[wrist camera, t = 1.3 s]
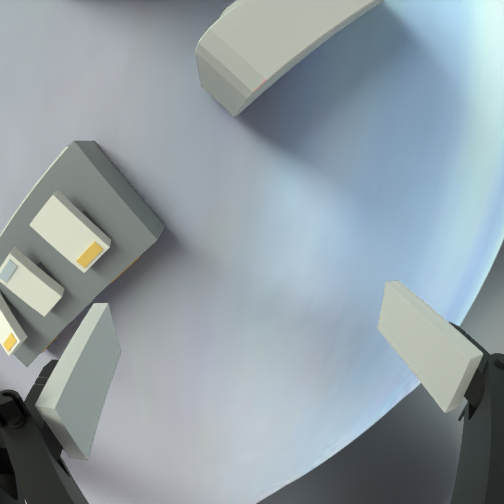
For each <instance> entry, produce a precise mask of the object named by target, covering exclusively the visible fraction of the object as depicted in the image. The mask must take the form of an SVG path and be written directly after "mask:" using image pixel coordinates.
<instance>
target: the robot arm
mask: <svg viewBox="0 0 504 504" xmlns="http://www.w3.org/2000/svg"><path fill="white" fill-rule="evenodd" d="M377 329H378V330H379V332H380V333H381V334H382V335H383V336H384V338H385V339H386V340H387V341H388V342H389V344H390V345H391V346H392V347H393V348H394V350H395V351H396V352H397V353H398V355H399V356H400V357H401V358H402V359H403V361H404V362H405V363H406V364H407V366H408V367H409V368H410V369H411V371H412V372H413V373H414V374H415V376H416V377H417V378H418V379H419V381H420V382H421V383H422V384H423V386H424V387H425V388H426V389H427V391H428V392H429V393H430V395H431V396H432V397H433V398H434V399H435V401H436V402H437V403H438V405H439V406H440V407H441V409H442V410H443V411H444V413H446V412H449V411H451V410H453V409H455V408H458V407H459V405H460V403H461V401H462V399H463V397H465V398H466V399H467V400H468V402H467V404H466V406H465V408H464V409H463V411H462V413H461V415H460V417H459V419H458V420H459V421H460V420H461V419H462V417H463V416H464V427H463V435H462V443H461V451H460V458H459V464H458V470H457V475H456V481H455V485H454V490H453V495H452V499H451V503H450V504H504V354H500V353H495V354H492V355H490V354H489V353H488V352H487V351H486V350H485V349H484V348H483V347H482V346H480V345H479V344H478V343H477V342H476V341H475V340H474V339H471V337H470V336H469V335H468V334H466V332H465V331H463V330H462V329H461V328H460V327H459V326H457V325H455V324H453V323H451V322H447V321H446V320H445V319H444V318H443V317H442V316H441V315H439V314H438V313H437V312H436V311H435V310H433V309H432V308H431V307H430V306H429V305H428V304H426V303H425V302H424V301H423V300H422V299H420V298H419V297H418V296H417V295H415V294H414V293H413V292H412V291H411V290H409V289H408V288H407V287H406V286H404V285H403V284H402V283H401V282H400V281H398V280H396V281H388V282H385V289H384V295H383V301H382V306H381V312H380V317H379V322H378V327H377ZM120 355H121V348H120V345H119V341H118V338H117V334H116V331H115V327H114V323H113V319H112V315H111V311H110V307H109V303H94V304H93V305H92V307H91V308H90V310H89V311H88V313H87V315H86V316H85V318H84V319H83V321H82V322H81V324H80V326H79V327H78V329H77V331H76V332H75V334H74V336H73V337H72V339H71V341H70V342H69V344H68V346H67V347H66V349H65V351H64V352H63V354H62V356H61V358H60V359H59V360H51V361H50V362H49V363H48V364H47V365H46V366H44V367H43V369H42V371H41V373H40V374H39V378H37V379H36V381H35V385H33V386H32V388H31V390H30V392H29V394H28V395H27V397H26V399H25V401H24V402H23V400H22V398H21V397H20V395H19V394H18V392H16V391H14V390H4V391H1V392H0V504H25V500H26V502H27V504H89V503H88V502H87V500H86V499H85V497H84V495H83V494H82V492H81V491H80V489H79V487H78V486H77V484H76V482H75V481H74V479H73V477H72V475H71V474H70V472H69V470H68V468H67V466H66V465H65V463H64V461H63V460H62V458H61V457H60V455H61V452H62V449H64V451H65V452H66V453H67V455H68V456H69V457H70V458H75V459H81V460H88V458H89V454H90V450H91V447H92V443H93V439H94V436H95V432H96V429H97V425H98V422H99V419H100V415H101V412H102V409H103V406H104V402H105V399H106V396H107V393H108V390H109V387H110V384H111V381H112V378H113V375H114V372H115V369H116V366H117V363H118V360H119V357H120Z"/></svg>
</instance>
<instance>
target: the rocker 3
mask: <svg viewBox="0 0 504 504" xmlns="http://www.w3.org/2000/svg"><path fill="white" fill-rule="evenodd" d="M30 226H31V227H32V228H33V229H34V230H35V231H36V232H37V233H38V234H40V235H41V236H42V237H43V238H44V239H45V240H46V241H47V242H48V243H49V244H51V245H52V246H53V247H54V248H55V249H56V250H57V251H59V252H60V253H61V254H62V255H63V256H64V257H66V258H67V259H68V260H69V261H70V262H71V263H73V264H74V265H75V266H76V267H77V268H79V269H80V270H81V271H82V272H83V273H85V272H86V271H87V270H88V269H89V268H90V267H91V266H92V265H93V264H94V263H95V262H96V261H97V260H98V258H99V257H100V256H101V255H102V254H103V253H104V252H106V251H107V250H108V249H109V248H110V244H111V239H110V238H109V237H108V236H107V235H105V234H104V233H103V232H102V231H101V230H100V229H99V228H98V227H97V226H96V225H95V224H93V223H92V222H91V221H90V220H89V219H88V218H87V217H86V216H85V215H84V214H83V213H82V212H81V211H80V210H78V209H77V208H76V207H75V206H74V205H73V204H72V203H71V202H70V201H69V200H68V199H67V198H66V197H65V196H64V195H63V194H62V193H61V192H60V191H59V190H58V189H57V190H56V191H55V193H54V194H53V195H52V196H51V197H50V199H49V200H48V201H47V202H46V204H45V205H44V206H43V207H42V209H41V210H40V211H39V213H38V214H37V215H36V216H35V218H34V219H33V221H32V222H31V223H30Z"/></svg>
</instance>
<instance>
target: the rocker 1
mask: <svg viewBox="0 0 504 504" xmlns="http://www.w3.org/2000/svg"><path fill="white" fill-rule="evenodd" d="M26 338H27V335H26V334H25V332H24V331H23V329H22V328H21V326H20V325H19V323H18V322H17V320H16V318H15V317H14V315H13V314H12V312H11V310H10V309H9V307H8V305H7V304H6V302H5V300H4V299H3V297H2V295H1V293H0V343H1V345H2V346H3V348H4V349H5V351H6V352H7V354H8V355H11V354H13V353H14V352H16V351H17V349H18V348H19V347H20V346H21V344H22V343H23V342H24V341H25V339H26Z"/></svg>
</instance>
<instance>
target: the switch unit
mask: <svg viewBox="0 0 504 504" xmlns="http://www.w3.org/2000/svg"><path fill="white" fill-rule="evenodd" d="M57 189H58V190H59V191H60V192H61V193H62V194H63V195H64V196H65V197H66V198H67V199H68V200H69V201H70V202H71V203H72V204H73V205H74V206H75V207H76V208H77V209H78V210H80V211H81V212H82V213H83V214H84V215H85V216H86V217H87V218H88V219H89V220H90V221H91V222H92V223H93V224H95V225H96V226H97V227H98V228H99V229H100V230H101V231H102V232H103V233H104V234H105V235H107V236H108V237H109V238H110V239H111V244H110V248H109V249H108V250H107V251H106V252H104V253H103V254H102V255H101V256H100V257H99V258H98V260H97V261H96V262H95V263H94V264H93V265H92V266H91V267H90V268H89V269H88V270H87V271H86V272H85V273H83V272H82V271H81V270H80V269H79V268H77V267H76V266H75V265H74V264H73V263H71V262H70V261H69V260H68V259H67V258H66V257H64V256H63V255H62V254H61V253H60V252H59V251H57V250H56V249H55V248H54V247H53V246H52V245H51V244H49V243H48V242H47V241H46V240H45V239H44V238H43V237H42V236H41V235H40V234H38V233H37V232H36V231H35V230H34V229H33V228H32V227H31V226H30V223H31V222H32V221H33V219H34V218H35V216H36V215H37V214H38V213H39V211H40V210H41V209H42V207H43V206H44V205H45V204H46V202H47V201H48V200H49V199H50V197H51V196H52V195H53V194H54V193H55V191H56V190H57ZM165 226H166V225H165V224H164V223H163V222H162V221H161V220H160V219H159V217H158V216H157V215H156V214H155V213H154V212H153V210H152V209H151V208H150V207H149V206H148V205H147V204H146V202H145V201H144V200H143V199H142V198H141V197H140V195H139V194H138V193H137V192H136V191H135V190H134V188H133V187H132V186H131V185H130V184H129V182H128V181H127V180H126V179H125V178H124V177H123V175H122V174H121V173H120V172H119V171H118V169H117V168H116V167H115V166H114V165H113V163H112V162H111V161H110V160H109V159H108V157H107V156H106V155H105V154H104V152H103V151H102V150H101V149H100V148H99V146H98V145H97V144H96V143H95V141H73V142H72V144H71V145H69V146H67V147H66V148H65V149H64V150H63V151H62V152H61V153H60V155H59V156H58V157H57V158H56V159H55V160H54V162H53V163H52V164H51V165H50V166H49V168H48V169H47V170H46V171H45V173H44V174H43V175H42V176H41V178H40V179H39V180H38V181H37V183H36V184H35V185H34V187H33V188H32V189H31V191H30V192H29V193H28V195H27V196H26V197H25V199H24V200H23V201H22V203H21V204H20V206H19V207H18V209H17V210H16V211H15V213H14V214H13V216H12V217H11V219H10V220H9V222H8V223H7V225H6V226H5V228H4V229H3V231H2V233H1V234H0V267H1V266H2V264H3V262H4V261H5V259H6V258H7V256H8V255H9V253H10V252H11V250H12V249H13V247H14V246H15V247H16V248H17V249H18V250H20V251H21V252H22V253H23V254H24V255H25V256H26V257H27V258H29V259H30V260H31V261H32V262H33V263H34V264H35V265H37V266H38V267H39V268H40V269H41V270H43V271H44V272H45V273H46V274H47V275H49V276H50V277H51V278H52V279H53V280H55V281H56V282H57V283H58V284H60V285H61V286H62V287H63V288H65V289H64V292H63V295H62V297H61V299H60V300H59V301H58V302H57V303H56V304H55V305H54V306H53V308H52V309H51V310H50V311H49V312H48V313H47V314H46V316H45V317H44V316H43V315H41V314H40V313H39V312H37V311H36V310H35V309H33V308H32V307H31V306H29V305H28V304H27V303H26V302H24V301H23V300H22V299H21V298H19V297H18V296H17V295H16V294H14V293H13V292H12V291H11V290H9V289H8V288H7V287H6V286H5V285H4V284H2V283H1V282H0V293H1V295H2V297H3V299H4V300H5V302H6V304H7V305H8V307H9V309H10V310H11V312H12V314H13V315H14V317H15V318H16V320H17V322H18V323H19V325H20V326H21V328H22V329H23V331H24V332H25V334H26V335H27V338H26V339H25V341H24V342H23V343H22V344H21V346H20V347H19V348H18V349H17V351H16V352H14V353H13V354H14V355H15V356H16V357H17V358H18V359H19V360H20V361H21V362H22V363H23V364H24V365H25V366H26V367H28V366H29V365H30V364H31V363H32V362H33V361H34V360H35V358H36V357H37V356H38V355H39V354H40V353H42V352H43V351H44V350H45V349H46V348H47V347H48V346H49V345H50V344H51V343H52V342H53V341H54V340H55V339H56V338H57V336H58V335H59V333H60V332H61V331H62V330H63V329H64V328H65V327H66V326H67V325H68V324H69V323H71V322H72V321H73V320H74V319H75V318H76V317H77V316H78V315H79V314H80V313H81V312H82V311H83V310H84V309H85V308H86V307H87V306H88V305H89V304H90V303H91V302H92V301H93V300H94V298H95V297H96V296H97V295H98V294H99V293H100V292H101V291H102V290H104V289H105V288H106V287H107V286H108V285H109V284H110V283H112V282H114V281H115V280H116V279H117V278H118V277H119V276H120V275H121V274H122V273H123V272H124V271H125V270H126V269H128V268H129V267H130V266H131V265H132V264H133V263H134V262H135V261H136V260H137V259H139V258H140V256H141V254H142V253H144V252H145V251H146V250H147V249H148V248H149V247H150V246H151V245H153V244H154V243H155V242H156V241H157V240H158V239H159V237H160V235H161V233H162V231H163V229H164V228H165Z"/></svg>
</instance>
